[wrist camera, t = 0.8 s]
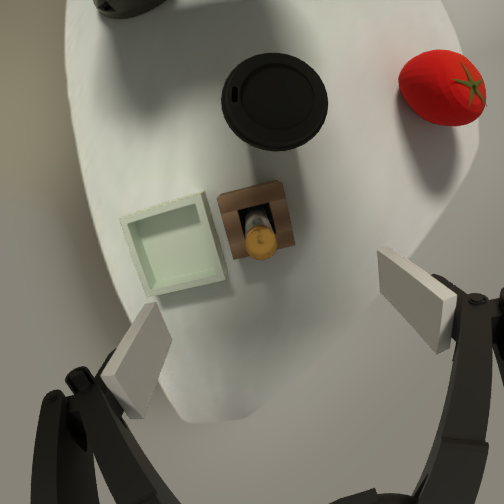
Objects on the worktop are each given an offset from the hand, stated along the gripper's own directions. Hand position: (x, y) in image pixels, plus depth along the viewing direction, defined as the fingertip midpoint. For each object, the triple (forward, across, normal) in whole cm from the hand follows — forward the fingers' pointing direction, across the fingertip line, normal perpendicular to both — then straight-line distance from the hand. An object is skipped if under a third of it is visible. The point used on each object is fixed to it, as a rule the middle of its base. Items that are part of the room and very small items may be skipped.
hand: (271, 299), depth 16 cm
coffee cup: (+25, +4, +13) cm, 29 cm away
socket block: (+25, 0, 0) cm, 25 cm away
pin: (+25, 0, 0) cm, 25 cm away
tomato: (+25, +30, +14) cm, 42 cm away
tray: (+25, -12, -1) cm, 28 cm away
